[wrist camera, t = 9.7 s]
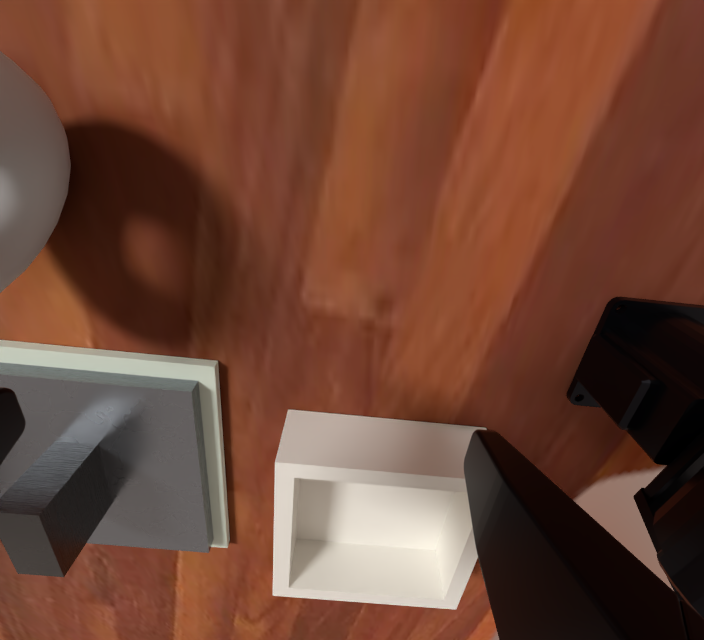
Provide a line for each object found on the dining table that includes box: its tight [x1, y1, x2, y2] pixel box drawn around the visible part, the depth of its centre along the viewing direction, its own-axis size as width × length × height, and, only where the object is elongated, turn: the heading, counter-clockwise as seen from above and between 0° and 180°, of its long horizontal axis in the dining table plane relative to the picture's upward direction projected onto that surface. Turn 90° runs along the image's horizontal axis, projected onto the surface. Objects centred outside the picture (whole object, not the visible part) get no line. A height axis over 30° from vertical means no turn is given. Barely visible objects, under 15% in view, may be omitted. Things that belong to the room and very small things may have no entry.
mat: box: [0, 340, 230, 548], centre depth 24 cm, size 16×16×1 cm
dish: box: [273, 409, 487, 609], centre depth 24 cm, size 12×12×4 cm
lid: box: [0, 362, 214, 577], centre depth 21 cm, size 14×14×6 cm
